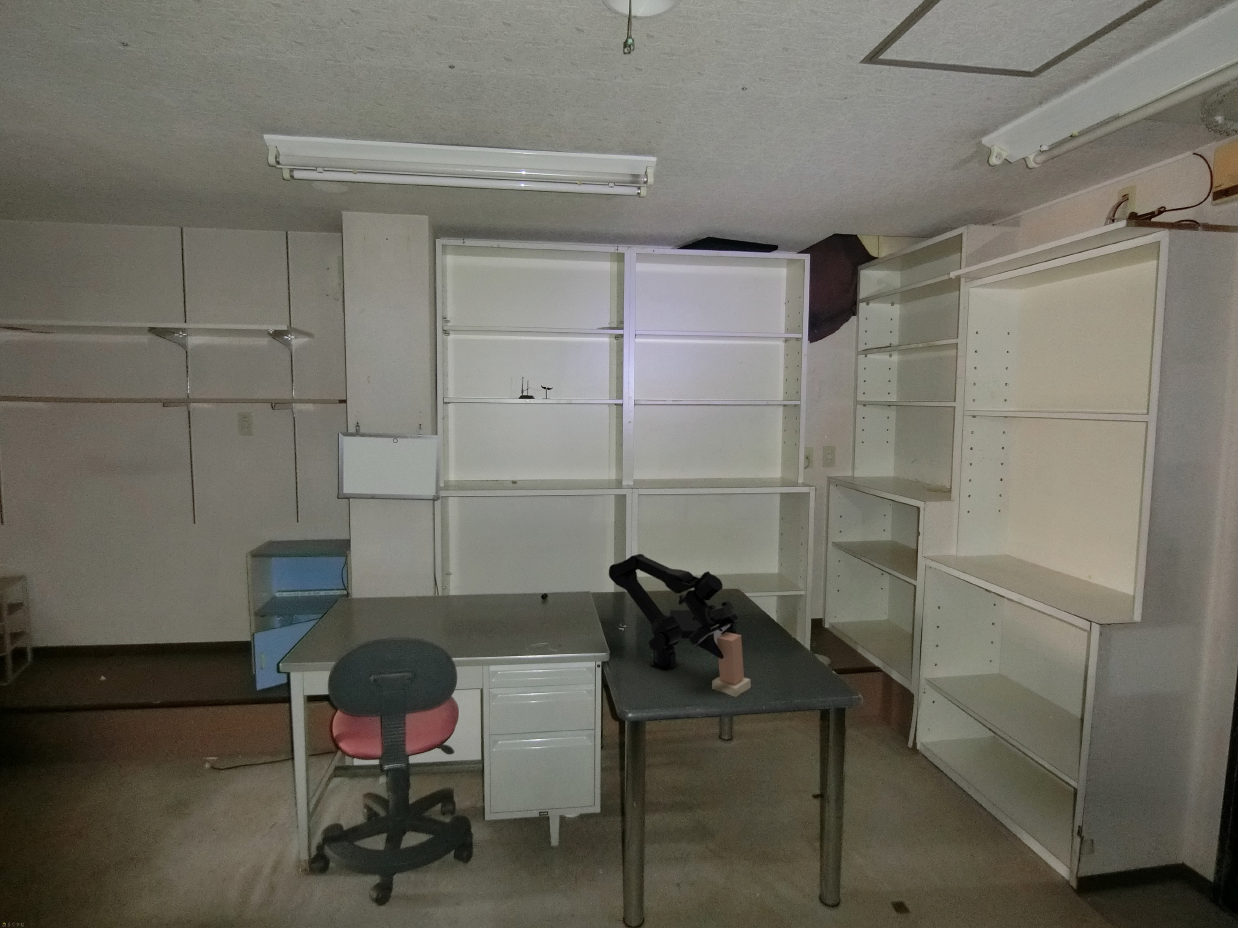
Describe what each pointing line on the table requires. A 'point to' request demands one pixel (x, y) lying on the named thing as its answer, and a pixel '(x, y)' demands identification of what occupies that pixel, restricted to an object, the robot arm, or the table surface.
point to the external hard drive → (685, 622)
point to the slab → (731, 686)
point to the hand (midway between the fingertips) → (731, 653)
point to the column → (730, 658)
